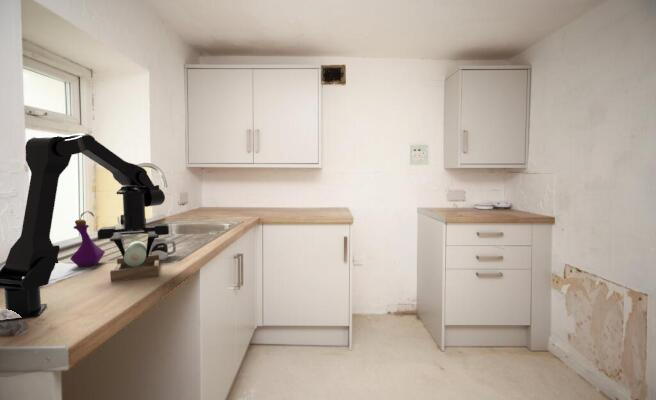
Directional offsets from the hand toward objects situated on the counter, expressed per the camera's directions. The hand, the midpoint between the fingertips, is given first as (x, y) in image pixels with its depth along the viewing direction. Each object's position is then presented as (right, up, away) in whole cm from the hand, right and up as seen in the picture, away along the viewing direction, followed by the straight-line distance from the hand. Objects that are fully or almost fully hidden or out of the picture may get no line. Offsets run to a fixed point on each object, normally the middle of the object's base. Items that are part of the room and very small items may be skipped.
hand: (136, 258), depth 105 cm
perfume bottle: (-20, -4, +7) cm, 22 cm away
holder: (0, -4, 0) cm, 4 cm away
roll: (0, -1, 0) cm, 1 cm away
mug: (0, -3, +17) cm, 17 cm away
